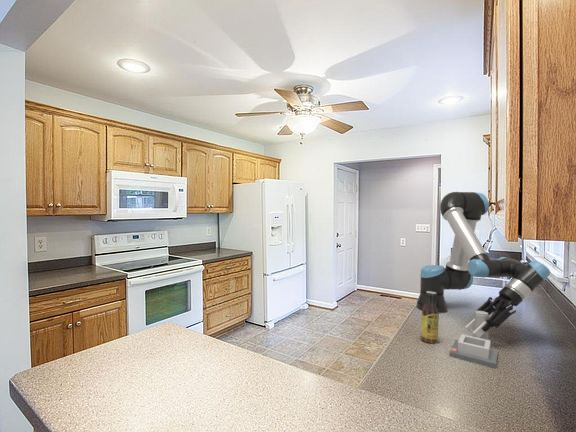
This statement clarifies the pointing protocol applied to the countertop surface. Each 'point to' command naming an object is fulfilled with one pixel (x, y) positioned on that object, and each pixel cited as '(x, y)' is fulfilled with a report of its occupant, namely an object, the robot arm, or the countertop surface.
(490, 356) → the socket plate
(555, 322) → the countertop surface
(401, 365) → the countertop surface
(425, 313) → the sauce bottle
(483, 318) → the beverage can
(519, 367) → the countertop surface
